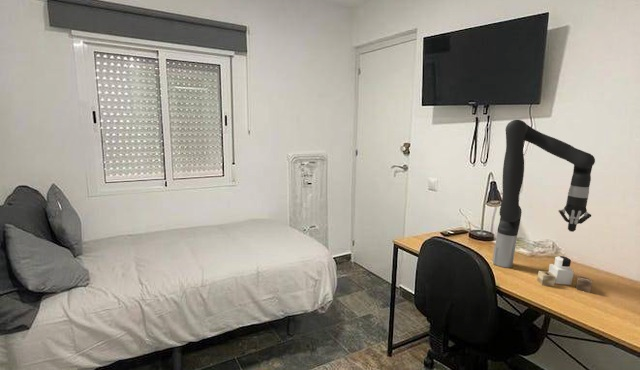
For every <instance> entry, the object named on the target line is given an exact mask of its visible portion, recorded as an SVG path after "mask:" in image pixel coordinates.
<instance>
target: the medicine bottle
mask: <svg viewBox="0 0 640 370" xmlns="http://www.w3.org/2000/svg"><path fill="white" fill-rule="evenodd" d="M571 264H572V260H571V259H570V258H569V257H567V256H562V255H558V256H555V257H554V263H549V267H548V271H547V272H551V273H552V274H553V275H554V276H555V282H554V285H555V284H556V285H565V286H566V285H567V286H571V285H572V283H573V282H572V281H573V279H574V270H573V269H572V268H571Z"/></svg>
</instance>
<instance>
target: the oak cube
mask: <svg viewBox="0 0 640 370" xmlns="http://www.w3.org/2000/svg"><path fill="white" fill-rule="evenodd" d="M536 281H537V283H539V284H540V285H541V286H547V287H555V283H554V282H555V276H554V275H553V274H552V273H551V272H548V271H545V270H538V272H537V279H536Z"/></svg>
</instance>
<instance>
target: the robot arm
mask: <svg viewBox="0 0 640 370" xmlns="http://www.w3.org/2000/svg"><path fill="white" fill-rule="evenodd" d="M525 142H527V143H530V144H533V145H534V146H536V147H538V148H540V150H543V151H545V152H547V153H549V154H551V155H553V156H554V157H555V156H556V157H558V158H559V159H562V160H565V161H566V162H568V163H570V164H572V165H573V169H572V170H573V171H572V176H571V181H570V186H569V189H568V191H567V199H566V202H565V204H566V205H564V208H562V209H559V210H558V213H559V214H560V216H561V217H562V219H563V220H564V221H565V222H566V223H567V224H568V225H567V230H568V231H569V232H573V233H574V231H576V229H577V225H578V224H581V225H582V224H583V223H585V222H586V221H587V220H588V219H590V218H591V217H592V214H591V213H589V212H588V210H587V204H588V200H589V194H590V187H591V186H590V185H591V181H592V177H591V176H592V175H591V173H592V170H593V166H594V165H595V164H596V158H595V155H592V154H591V153H589V152H587V151H583V150H581V149H579V148H576V147H574V146H573V145H571V144H568V143H566V142H564V141H562V140H560V139H557V138H555V137H553V136H550V135H547V134H545V133H542V132H540V131H538V130H536V129H535V128H533V127H531V126H530V125H528V124H527V123H526V122H525V121H524V120H522V119H512V120H511V121H509V122H508V123H507V125H506V126H505V148H506V149H505V153H504V159H503V168H502V197H501V204H500V207H499V216H500V218H499V223H498V226H497V232H496V239H495V243H494V245H493V246H494V247H493V253H492V254H493V255H492V259H491V260H492V264H493V265H495V266H498V267H501V268H508V269H509V268H512V267H513V264H514V261H515V260H514V259H515V253H516V248H517V247H516V246H517V241H518V234H519V229H520V224H521V217H522V208H521V206H520V201H519V199H520V193H521V189H522V186H523V182H524V177H525V176H524V174H525V156H524V155H525V153H524V143H525ZM566 214H567V215H568V217H567V216H566Z"/></svg>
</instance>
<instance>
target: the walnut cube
mask: <svg viewBox="0 0 640 370" xmlns="http://www.w3.org/2000/svg"><path fill="white" fill-rule="evenodd" d="M592 285H593V280H592V278H589V277H588V278H587V277H584V276H579V275H577V279H576V283H575V290H576V289H577V291H580V292H583V291H584V292H585V293H587V294H591V289H592Z"/></svg>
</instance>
